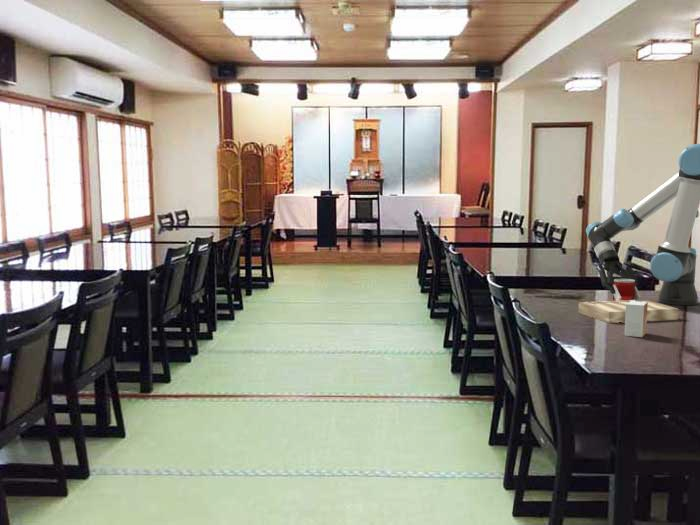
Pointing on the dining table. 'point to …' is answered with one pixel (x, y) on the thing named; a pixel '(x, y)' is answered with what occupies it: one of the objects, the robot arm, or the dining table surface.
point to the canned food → (625, 288)
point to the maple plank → (617, 310)
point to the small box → (636, 318)
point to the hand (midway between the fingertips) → (628, 299)
